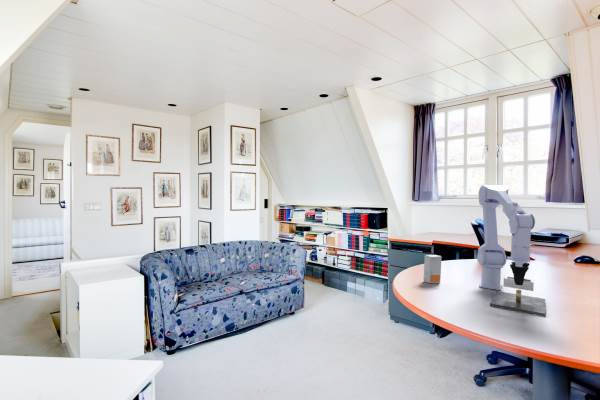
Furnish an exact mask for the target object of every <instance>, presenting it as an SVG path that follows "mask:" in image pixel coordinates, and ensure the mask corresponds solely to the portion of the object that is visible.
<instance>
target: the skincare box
mask: <svg viewBox="0 0 600 400" xmlns="http://www.w3.org/2000/svg"><path fill="white" fill-rule="evenodd" d="M442 258H443V256H441V255H437V254H425V255H424V261H423V262H424V265H423V281H424V282H425V283H427V282H428V283H427V284H440V283H441V277H442V275H441V274H442Z"/></svg>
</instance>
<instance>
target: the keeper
mask: <svg viewBox="0 0 600 400" xmlns="http://www.w3.org/2000/svg"><path fill="white" fill-rule="evenodd" d="M489 307H493V308H499V309H502V310H503V309H504V310H508V311H514V312H519V313H524V314H528V315H534V316H539V317H544V318H545V317H546V315H547V314H546V313H547V312H546V309H547V308H546V299H545V298H541V297H536V296H535V297H534V296H530V295H529V296H528V295H523V294H522V289H515V293H512V292H505V291H501V290H495V292H494V294H493V297H492V298H491V300H490V302H489Z"/></svg>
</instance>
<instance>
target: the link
mask: <svg viewBox="0 0 600 400" xmlns="http://www.w3.org/2000/svg"><path fill="white" fill-rule="evenodd" d="M503 277H504V278H503V284H502V287H504V288H505V287H506V288H509V289H510V288H511V289H516V290H525V291H531V292H534V287H535V285H534V282H535V280H534V279H531V278H524V281H523V285H522V286H521V285H515V281H514V276H511V275H505V276H503Z"/></svg>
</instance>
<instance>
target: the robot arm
mask: <svg viewBox="0 0 600 400" xmlns="http://www.w3.org/2000/svg"><path fill="white" fill-rule="evenodd" d="M478 202H479V203H478V204H479V205H480V206H482V215H483V216H482V217H483V233H484V237H483V238H484V243H483V244H482V245H481V246H479V247H478V249H477V256H476V257H477V258H476V259H477V262H478V264H479V265H480V266H481V275H480V276H481V278H480V279H481V280H480V284H479V285H478V288H484V289H491V290H495V291H501V290H502V288H503V284H501V277H502V269H503V268H504V266H505V265H506V264H507V260H510V261H511V263H510V264H509V266H510V269H511V271H512V274H513V277H514V281H515V285H521V286H522V285H523V281H524V279H525V276H526V274H527V272H528V271H529V268H530V267H529V266H530V262H531V259H530V257H531V256H530V255H531V234H532V231H531V230H533V229H534V228H535V224H536V220H535V217H534V215H533V213H528V212H526V211H524V209H523V208H522V207H521V206H520V205H519V203H518V202H516V201H512V199H511V197H510V196H509V188H508V187H507V185H505V184H504V185H489V184H488V185H487V184H482V185H481V186H480V187H479V191H478ZM499 206H502V211H503V213H504V214H505V216H506V217H507V218H508V224H509V232H510V233H511V247H510V248H511V250H510V256H507V255H506V251H505V248H504V247H503V246H501V245H500V244H499V243H498V242H499V237H498V225H497V207H499Z"/></svg>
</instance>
